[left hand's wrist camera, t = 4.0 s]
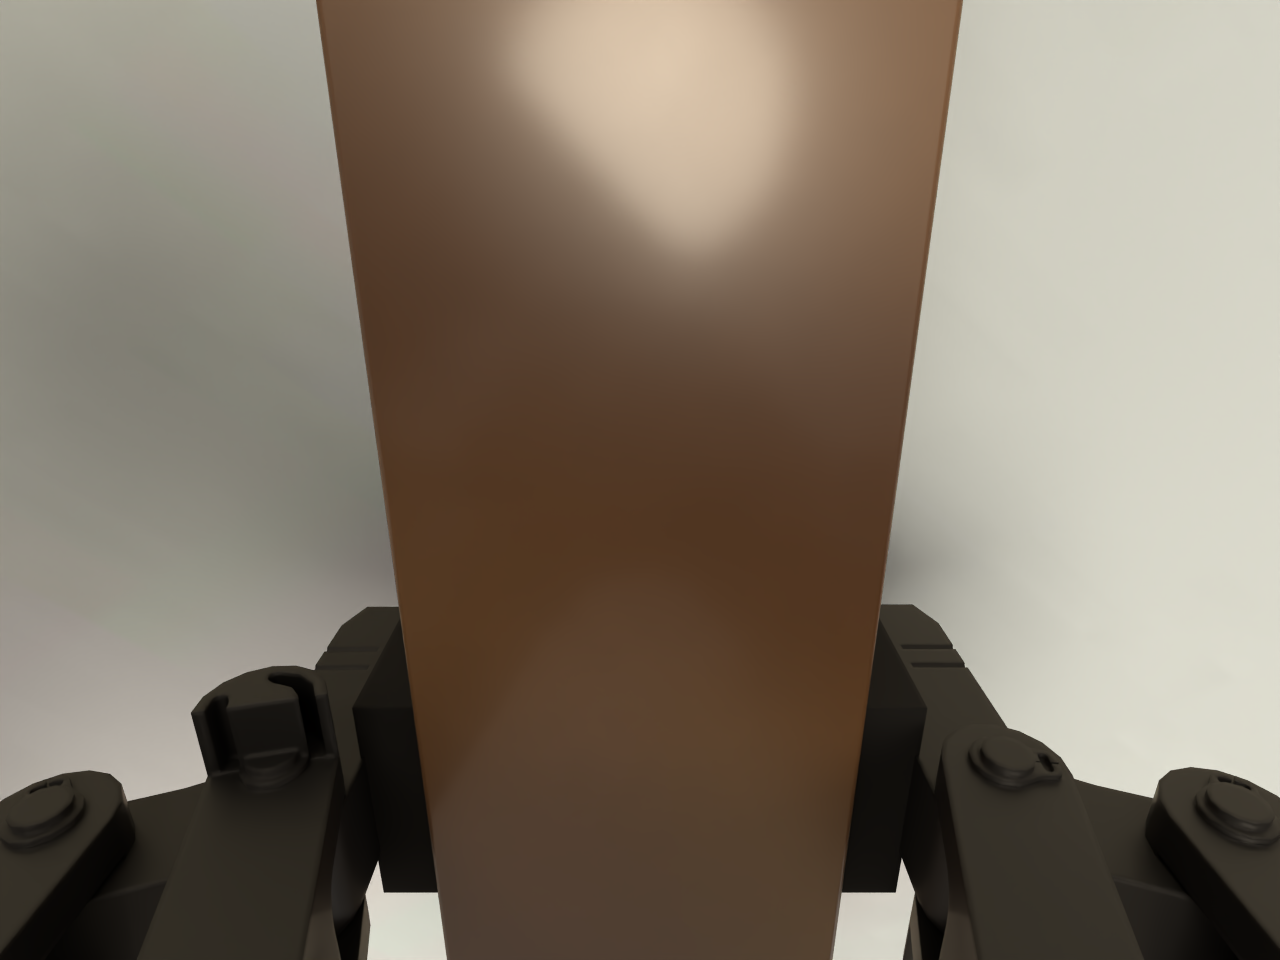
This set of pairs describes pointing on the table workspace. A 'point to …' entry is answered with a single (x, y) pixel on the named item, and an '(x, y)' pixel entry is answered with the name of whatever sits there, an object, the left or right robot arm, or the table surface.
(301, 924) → the left robot arm
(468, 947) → the post
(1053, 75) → the table surface
